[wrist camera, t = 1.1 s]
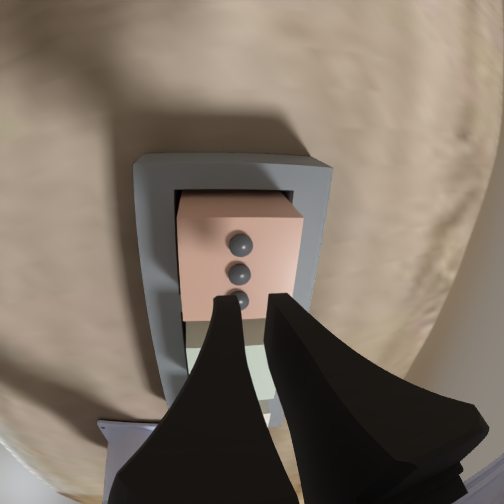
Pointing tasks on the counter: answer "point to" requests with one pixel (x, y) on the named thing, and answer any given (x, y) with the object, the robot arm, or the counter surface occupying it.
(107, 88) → the counter surface
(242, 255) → the three-pip tile
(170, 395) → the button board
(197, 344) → the tile
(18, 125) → the counter surface
